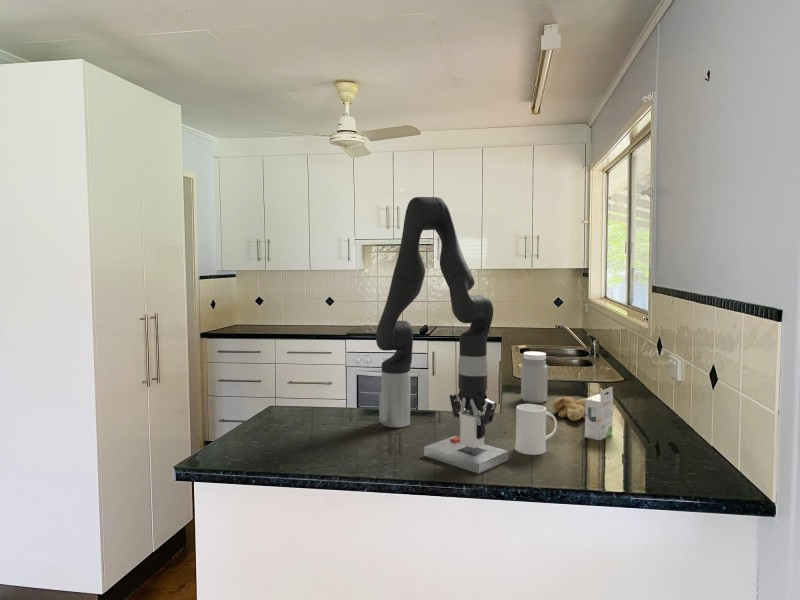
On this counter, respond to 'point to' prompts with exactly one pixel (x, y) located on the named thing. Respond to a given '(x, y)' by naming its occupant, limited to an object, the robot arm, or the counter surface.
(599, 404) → the ink box
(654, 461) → the counter surface
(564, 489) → the counter surface
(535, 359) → the jar
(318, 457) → the counter surface
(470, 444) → the plug
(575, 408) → the ginger root
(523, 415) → the mug
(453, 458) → the socket plate
